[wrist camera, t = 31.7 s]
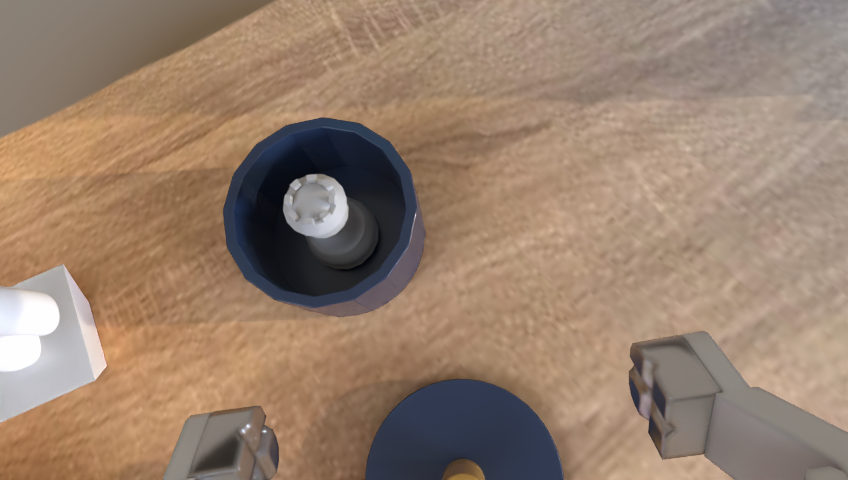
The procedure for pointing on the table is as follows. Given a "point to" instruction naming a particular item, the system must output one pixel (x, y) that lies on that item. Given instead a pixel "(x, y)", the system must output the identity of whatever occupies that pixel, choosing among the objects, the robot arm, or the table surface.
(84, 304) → the figurine
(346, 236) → the rook chess piece
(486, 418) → the tin lid
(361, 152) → the tin
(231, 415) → the robot arm
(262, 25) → the table surface
